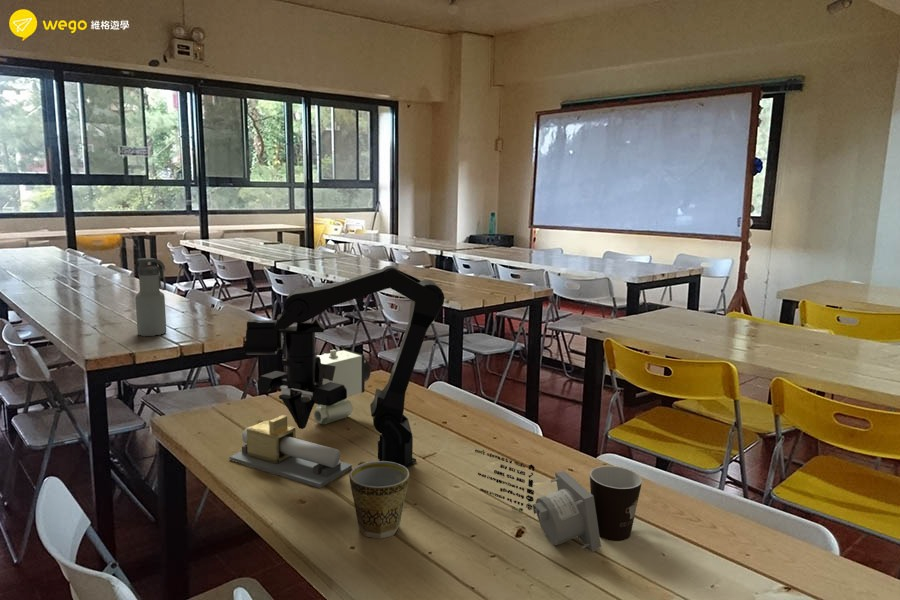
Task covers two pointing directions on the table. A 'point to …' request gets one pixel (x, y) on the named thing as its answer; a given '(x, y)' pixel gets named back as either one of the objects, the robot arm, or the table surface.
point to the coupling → (268, 439)
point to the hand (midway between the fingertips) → (302, 428)
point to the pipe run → (299, 461)
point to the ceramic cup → (379, 496)
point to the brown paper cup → (615, 500)
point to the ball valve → (343, 382)
